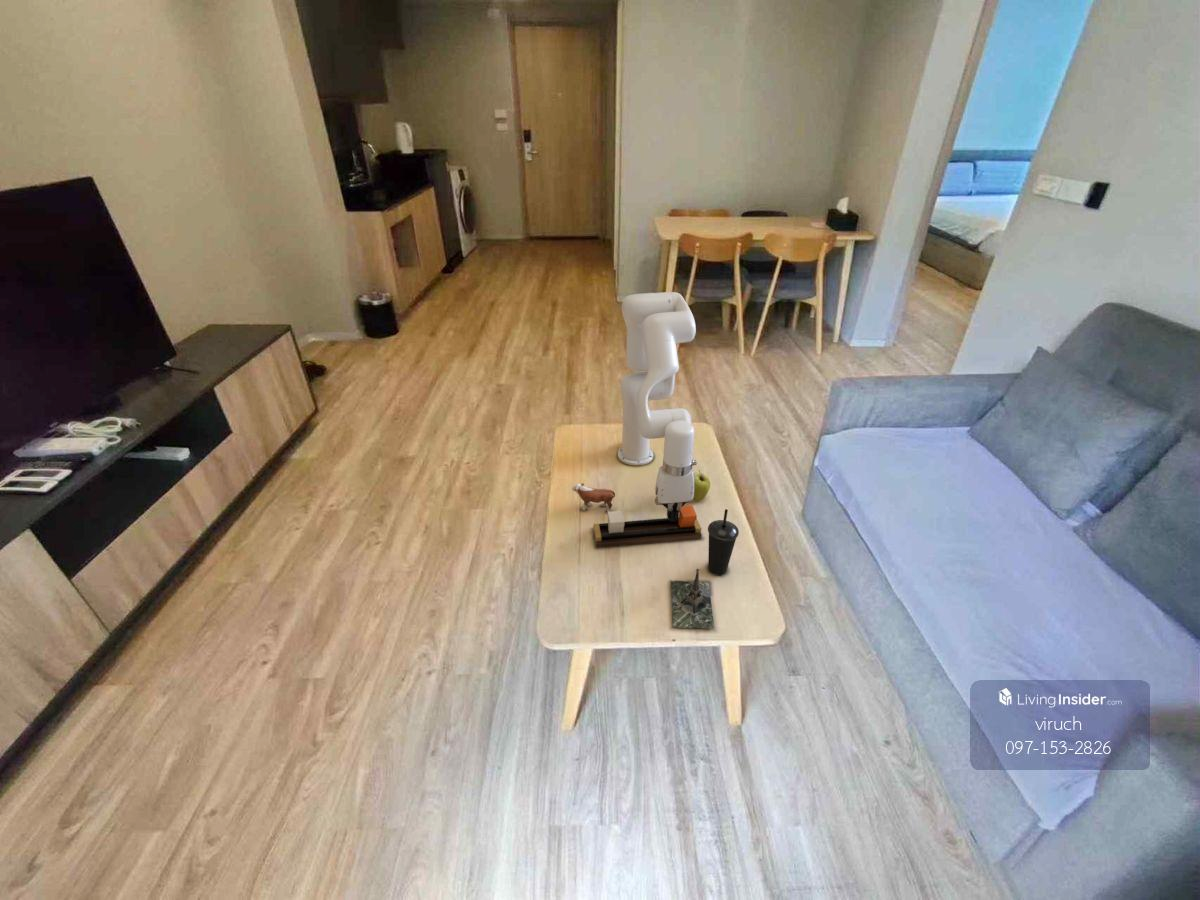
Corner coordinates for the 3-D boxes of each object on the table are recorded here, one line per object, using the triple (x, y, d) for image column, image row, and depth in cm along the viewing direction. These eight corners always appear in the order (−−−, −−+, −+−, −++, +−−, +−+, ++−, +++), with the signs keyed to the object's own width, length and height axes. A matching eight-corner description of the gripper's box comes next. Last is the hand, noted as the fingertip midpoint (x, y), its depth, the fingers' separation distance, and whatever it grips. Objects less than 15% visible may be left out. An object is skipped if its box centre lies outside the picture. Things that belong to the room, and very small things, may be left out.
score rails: (593, 527, 154) (593, 523, 154) (695, 519, 157) (695, 515, 157) (596, 541, 149) (596, 537, 149) (700, 532, 152) (701, 528, 152)
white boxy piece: (607, 526, 154) (607, 511, 151) (621, 525, 155) (621, 510, 152) (610, 538, 150) (610, 523, 147) (624, 537, 151) (624, 521, 148)
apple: (675, 492, 169) (685, 465, 165) (693, 491, 173) (704, 464, 169) (690, 506, 163) (701, 478, 159) (709, 505, 168) (720, 477, 164)
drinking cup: (697, 563, 144) (704, 505, 133) (721, 555, 147) (730, 497, 136) (713, 582, 138) (722, 523, 127) (737, 574, 141) (748, 515, 130)
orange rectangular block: (677, 520, 156) (678, 505, 153) (690, 519, 157) (692, 504, 154) (681, 532, 152) (682, 516, 149) (695, 531, 152) (696, 515, 150)
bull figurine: (573, 500, 168) (572, 479, 163) (615, 506, 165) (616, 484, 161) (570, 509, 164) (569, 488, 160) (613, 514, 162) (613, 493, 157)
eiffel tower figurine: (669, 581, 139) (672, 542, 132) (708, 582, 138) (714, 544, 131) (672, 628, 126) (676, 588, 119) (715, 630, 126) (722, 590, 118)
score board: (593, 529, 156) (593, 525, 155) (693, 520, 159) (694, 516, 158) (596, 548, 149) (596, 544, 149) (701, 538, 152) (701, 534, 152)
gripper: (700, 455, 146) (694, 508, 156) (646, 459, 145) (644, 512, 155) (708, 471, 140) (701, 525, 150) (652, 475, 139) (649, 529, 148)
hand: (672, 518), depth 152 cm, fingers closed
